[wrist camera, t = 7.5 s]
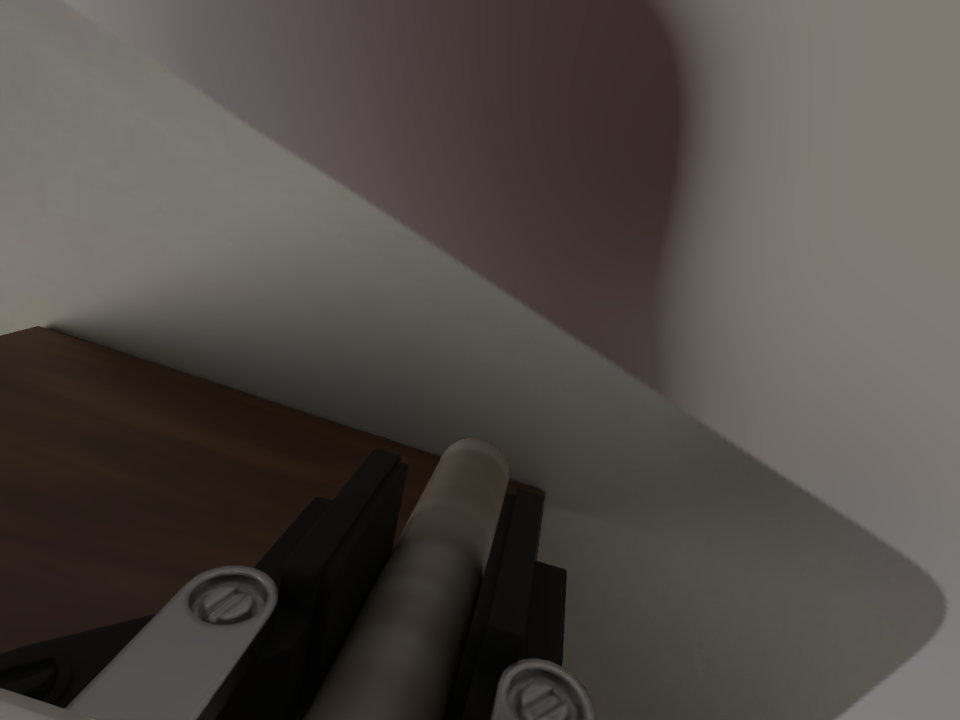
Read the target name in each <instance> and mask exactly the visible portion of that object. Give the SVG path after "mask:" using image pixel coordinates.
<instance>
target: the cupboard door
mask: <svg viewBox="0 0 960 720" xmlns="http://www.w3.org/2000/svg"><path fill="white" fill-rule="evenodd" d="M375 448H379V449H383V450H386V451H390V452H393V453H397V454H400V455H401V462H403V463H406V464H408V465H409V466H408V473H407V478H406V483H405V488H404V493H403V498H402V502H401V507H400V512H399V517H398V522H397V527H396V532H395V537H394V542H393V547H392V551H391V553H390V555H389V557H388V559H387V561H386V563H385V565H384V567H383V568H382V570H381V572H380V574H379V576H378V578H377V580H376V582H375V584H374V585H373V587H372V589H371V591H370V593H369V595H368V597H367V599H366V600H365V602H364V604H363V606H362V608H361V610H360V612H359V614H358V616H357V617H356V619H355V621H354V623H353V625H352V627H351V629H350V631H349V633H348V634H347V636H346V638H345V640H344V642H343V644H342V646H341V648H340V649H339V651H338V653H337V655H336V657H335V659H334V661H333V663H332V665H331V666H330V668H329V670H328V672H327V674H326V676H325V678H324V680H323V682H322V683H321V685H320V687H319V689H318V691H317V693H316V695H315V697H314V699H313V700H312V702H311V704H310V706H309V708H308V710H307V712H306V714H305V715H304V717H303V719H302V720H446V718H447V714H448V710H449V707H450V703H451V699H452V695H453V691H454V687H455V684H456V680H457V676H458V672H459V668H460V664H461V661H462V657H463V653H464V649H465V645H466V642H467V638H468V634H469V630H470V626H471V622H472V619H473V615H474V611H475V607H476V603H477V599H478V596H479V592H480V588H481V584H482V580H483V577H484V573H485V569H486V565H487V562H488V558H489V554H490V551H491V547H492V543H493V539H494V536H495V532H496V528H497V525H498V521H499V517H500V513H501V510H502V506H503V502H504V498H505V495H506V492H507V493H511V494H514V495H516V493H517V490H518V488H519V489H522V490H526V491H529V492H532V493H536V494H539V495H543V503H542V510H541V518H540V525H539V532H538V540H537V547H536V555H535V561H537V554H538V546H539V538H540V531H541V523H542V515H543V508H544V500H545V491H542V490H539V489H536V488H533V487H530V486H527V485H524V484H521V483H518V482H515V481H512V480H509V475H510V472H509V465H508V462H507V460H506V458H505V456H504V455H503V453H502V452H501V451H500V450H499V449H498V448H497V447H496V446H495V445H493V444H492V443H490V442H488V441H485V440H482V439H478V438H466V439H461V440H459V441H456V442H454V443H453V444H451V445H450V446H449V447H448V448H447V449H446V450H445V452H444V453H443V455H442V457H438V456H435V455H432V454H429V453H426V452H423V451H420V450H417V449H414V448H411V447H408V446H405V445H402V444H398V443H395V442H392V441H389V440H386V439H383V438H380V437H377V436H374V435H371V434H368V433H365V432H362V431H359V430H356V429H353V428H349V427H346V426H343V425H340V424H337V423H334V422H331V421H328V420H325V419H322V418H319V417H316V416H313V415H310V414H307V413H304V412H300V411H297V410H294V409H291V408H288V407H285V406H282V405H279V404H276V403H273V402H270V401H267V400H264V399H261V398H258V397H255V396H251V395H248V394H245V393H242V392H239V391H236V390H233V389H230V388H227V387H224V386H221V385H218V384H215V383H212V382H209V381H206V380H202V379H199V378H196V377H193V376H190V375H187V374H184V373H181V372H178V371H175V370H172V369H169V368H166V367H163V366H160V365H157V364H154V363H150V362H147V361H144V360H141V359H138V358H135V357H132V356H129V355H126V354H123V353H120V352H117V351H114V350H111V349H108V348H105V347H101V346H98V345H95V344H92V343H89V342H86V341H83V340H80V339H77V338H74V337H71V336H68V335H65V334H62V333H59V332H56V331H52V330H49V329H46V328H43V327H40V326H37V327H33V328H29V329H25V330H21V331H17V332H13V333H9V334H5V335H1V336H0V654H1V653H4V652H7V651H10V650H13V649H16V648H19V647H22V646H26V645H30V644H35V643H39V642H43V641H47V640H51V639H55V638H59V637H63V636H67V635H71V634H75V633H79V632H84V631H88V630H92V629H96V628H100V627H104V626H108V625H112V624H116V623H120V622H124V621H128V620H133V619H137V618H141V617H145V616H149V615H153V614H157V613H158V612H159V611H160V610H161V609H162V608H163V607H164V606H165V605H166V604H167V603H168V602H169V601H170V600H171V599H172V598H173V597H174V596H175V595H176V594H177V593H178V592H179V591H180V590H181V589H182V588H183V587H184V586H185V584H187V583H188V582H189V581H190V580H192V579H193V578H194V577H196V576H197V575H199V574H201V573H203V572H205V571H208V570H210V569H214V568H218V567H222V566H238V565H240V566H246V567H251V568H254V567H255V565H256V564H257V563H258V562H259V561H260V560H261V559H262V557H263V556H264V555H265V554H266V553H267V552H268V550H269V549H270V548H271V547H272V546H273V545H274V544H275V542H276V541H277V540H278V539H279V538H280V537H281V536H282V534H283V533H284V532H285V531H286V530H287V529H288V527H289V526H290V525H291V524H292V523H293V522H294V521H295V519H296V518H297V517H298V516H299V515H300V514H301V513H302V511H303V510H304V509H305V508H306V507H307V506H308V504H309V503H310V502H311V501H312V500H313V499H314V498H315V497H317V496H321V497H324V498H327V499H331V500H333V499H334V498H335V497H336V495H337V494H338V493H339V492H340V490H341V489H342V488H343V487H344V485H345V484H346V483H347V482H348V480H349V479H350V478H351V477H352V476H353V474H354V473H355V472H356V471H357V469H358V468H359V467H360V466H361V464H362V463H363V462H364V461H365V459H366V458H367V457H368V456H369V454H370V453H371V452H372V451H373V449H375Z"/></svg>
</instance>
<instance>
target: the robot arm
mask: <svg viewBox="0 0 960 720" xmlns="http://www.w3.org/2000/svg"><path fill="white" fill-rule="evenodd" d="M408 466H409V465H408V464H406V463H403V462H401V455H400V454H397V453H393V452H390V451H386V450H383V449H379V448H375V449H373V451H372V452H371V453H370V454H369V456H368V457H367V458H366V459H365V461H364V462H363V463H362V464H361V466H360V467H359V468H358V469H357V471H356V472H355V473H354V474H353V476H352V477H351V478H350V479H349V480H348V482H347V483H346V484H345V485H344V487H343V488H342V489H341V490H340V492H339V493H338V494H337V495H336V497H335V498H334V499H333V500H331V499H327V498H324V497H321V496H317V497H315V498H314V499H313V500H312V501H311V502H310V503H309V504H308V506H307V507H306V508H305V509H304V510H303V511H302V513H301V514H300V515H299V516H298V517H297V518H296V519H295V521H294V522H293V523H292V524H291V525H290V526H289V527H288V529H287V530H286V531H285V532H284V533H283V534H282V536H281V537H280V538H279V539H278V540H277V541H276V542H275V544H274V545H273V546H272V547H271V548H270V549H269V550H268V552H267V553H266V554H265V555H264V556H263V557H262V559H261V560H260V561H259V562H258V563H257V564H256V565H255V567H254V568H251V567H246V566H240V565H238V566H222V567H218V568H214V569H210V570H208V571H205V572H203V573H201V574H199V575H197V576H196V577H194V578H193V579H192V580H190V581H189V582H188V583H187V584H185V586H184V587H183V588H182V589H181V590H180V591H179V592H178V593H177V594H176V595H175V596H174V597H173V598H172V599H171V600H170V601H169V602H168V603H167V604H166V605H165V606H164V607H163V608H162V609H161V610H160V611H159V612H158V613H157V614H153V615H149V616H145V617H141V618H137V619H133V620H128V621H124V622H120V623H116V624H112V625H108V626H104V627H100V628H96V629H92V630H88V631H84V632H79V633H75V634H71V635H67V636H63V637H59V638H55V639H51V640H47V641H43V642H39V643H35V644H30V645H26V646H22V647H19V648H16V649H13V650H10V651H7V652H4V653H1V654H0V720H302V719H303V717H304V715H305V714H306V712H307V710H308V708H309V706H310V704H311V702H312V700H313V699H314V697H315V695H316V693H317V691H318V689H319V687H320V685H321V683H322V682H323V680H324V678H325V676H326V674H327V672H328V670H329V668H330V666H331V665H332V663H333V661H334V659H335V657H336V655H337V653H338V651H339V649H340V648H341V646H342V644H343V642H344V640H345V638H346V636H347V634H348V633H349V631H350V629H351V627H352V625H353V623H354V621H355V619H356V617H357V616H358V614H359V612H360V610H361V608H362V606H363V604H364V602H365V600H366V599H367V597H368V595H369V593H370V591H371V589H372V587H373V585H374V584H375V582H376V580H377V578H378V576H379V574H380V572H381V570H382V568H383V567H384V565H385V563H386V561H387V559H388V557H389V555H390V553H391V551H392V547H393V542H394V537H395V532H396V527H397V522H398V517H399V512H400V507H401V502H402V498H403V493H404V488H405V483H406V478H407V473H408ZM542 503H543V495H539V494H536V493H532V492H529V491H526V490H522V489H519V488H518V490H517V493H516V495H514V494H511V493H507V492H506V495H505V498H504V502H503V506H502V510H501V513H500V517H499V521H498V525H497V528H496V532H495V536H494V539H493V543H492V547H491V551H490V554H489V558H488V562H487V565H486V569H485V573H484V577H483V580H482V584H481V588H480V592H479V596H478V599H477V603H476V607H475V611H474V615H473V619H472V622H471V626H470V630H469V634H468V638H467V642H466V645H465V649H464V653H463V657H462V661H461V664H460V668H459V672H458V676H457V680H456V684H455V687H454V691H453V695H452V699H451V703H450V707H449V710H448V714H447V718H446V720H594V710H593V704H592V700H591V698H590V696H589V694H588V692H587V690H586V688H585V687H584V686H583V685H582V684H581V682H580V681H579V680H578V679H577V678H576V677H575V676H574V675H573V674H571V673H570V672H569V671H567V670H566V669H565V668H563V667H562V662H563V641H564V620H565V599H566V578H567V573H566V570H565V569H562V568H559V567H555V566H552V565H549V564H545V563H542V562H538V561H535V555H536V547H537V540H538V532H539V525H540V518H541V510H542Z"/></svg>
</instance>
